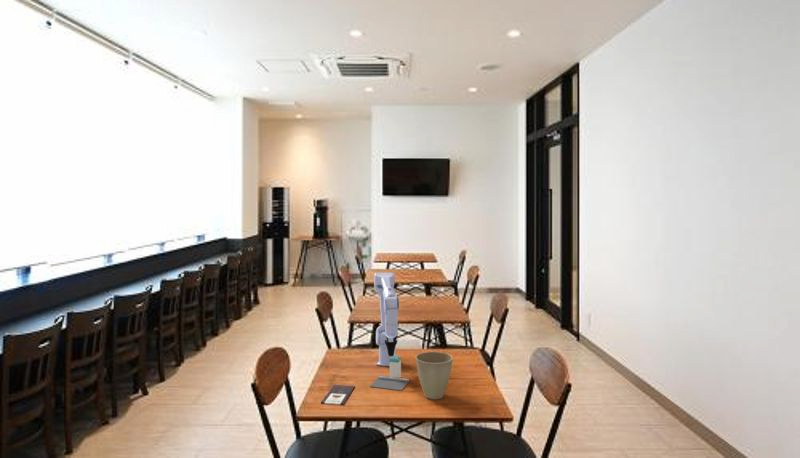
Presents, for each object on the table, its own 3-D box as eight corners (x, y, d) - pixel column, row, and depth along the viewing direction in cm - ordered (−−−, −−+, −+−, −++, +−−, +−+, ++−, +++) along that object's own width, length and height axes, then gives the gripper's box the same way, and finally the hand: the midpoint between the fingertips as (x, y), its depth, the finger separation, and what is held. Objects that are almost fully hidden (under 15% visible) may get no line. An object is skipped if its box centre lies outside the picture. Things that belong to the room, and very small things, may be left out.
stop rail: (378, 378, 216) (378, 375, 216) (408, 381, 212) (408, 378, 212) (377, 379, 215) (377, 376, 215) (407, 382, 211) (407, 380, 211)
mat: (377, 379, 215) (377, 378, 215) (407, 383, 211) (407, 382, 211) (369, 386, 206) (369, 386, 206) (401, 390, 202) (401, 390, 202)
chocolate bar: (354, 386, 206) (343, 403, 188) (354, 388, 206) (343, 406, 188) (334, 384, 207) (321, 402, 189) (334, 387, 207) (321, 404, 190)
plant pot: (460, 398, 195) (460, 358, 194) (429, 406, 187) (429, 365, 186) (437, 386, 207) (437, 349, 206) (408, 393, 199) (408, 355, 198)
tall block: (392, 375, 219) (392, 356, 219) (401, 376, 218) (401, 357, 218) (389, 379, 215) (389, 359, 215) (398, 380, 214) (398, 360, 214)
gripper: (383, 319, 226) (383, 348, 227) (381, 327, 211) (381, 358, 212) (398, 319, 226) (398, 348, 226) (397, 327, 211) (397, 358, 212)
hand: (391, 353), depth 219 cm, fingers open, 7 cm apart
